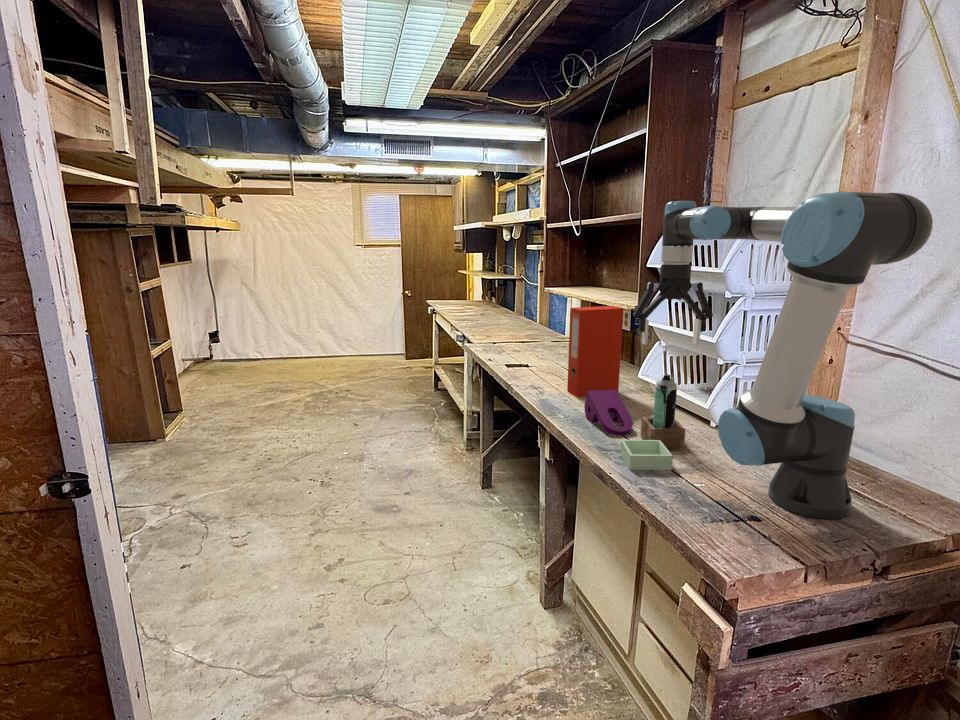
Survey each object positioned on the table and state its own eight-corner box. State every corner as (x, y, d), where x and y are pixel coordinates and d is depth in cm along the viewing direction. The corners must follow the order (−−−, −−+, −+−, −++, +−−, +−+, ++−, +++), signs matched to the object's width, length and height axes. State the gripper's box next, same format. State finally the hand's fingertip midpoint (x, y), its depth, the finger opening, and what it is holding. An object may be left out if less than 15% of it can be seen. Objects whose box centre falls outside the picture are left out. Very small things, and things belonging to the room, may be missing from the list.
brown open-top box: (683, 450, 139) (685, 429, 138) (650, 449, 140) (651, 429, 138) (669, 434, 151) (671, 414, 150) (638, 433, 152) (640, 414, 150)
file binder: (618, 393, 192) (623, 308, 185) (577, 397, 187) (580, 310, 180) (607, 387, 200) (611, 305, 193) (567, 391, 195) (570, 307, 188)
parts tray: (671, 470, 127) (672, 455, 127) (629, 469, 128) (630, 455, 127) (659, 453, 138) (660, 440, 137) (619, 453, 138) (620, 439, 137)
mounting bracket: (630, 449, 155) (610, 408, 169) (638, 430, 150) (616, 389, 164) (601, 452, 154) (582, 410, 168) (607, 432, 149) (588, 390, 162)
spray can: (673, 448, 141) (679, 377, 136) (652, 446, 142) (657, 376, 138) (670, 440, 146) (676, 372, 142) (650, 439, 147) (655, 372, 143)
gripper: (719, 262, 136) (712, 341, 141) (624, 263, 138) (620, 341, 142) (731, 263, 129) (723, 346, 134) (630, 264, 130) (626, 346, 135)
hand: (670, 343), depth 138 cm, fingers open, 13 cm apart
